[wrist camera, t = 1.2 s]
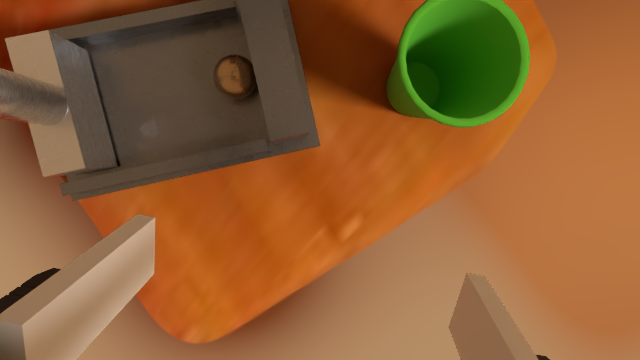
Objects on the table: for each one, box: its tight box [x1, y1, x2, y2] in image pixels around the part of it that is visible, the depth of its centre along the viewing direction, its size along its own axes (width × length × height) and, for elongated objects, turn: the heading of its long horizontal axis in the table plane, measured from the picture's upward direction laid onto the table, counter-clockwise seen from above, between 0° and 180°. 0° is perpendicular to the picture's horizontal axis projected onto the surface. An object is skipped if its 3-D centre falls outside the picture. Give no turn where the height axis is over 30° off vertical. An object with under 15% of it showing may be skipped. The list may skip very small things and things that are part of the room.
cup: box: [386, 0, 530, 127], centre depth 30 cm, size 9×9×11 cm
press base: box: [49, 0, 320, 201], centre depth 30 cm, size 22×14×8 cm, turn 103°
